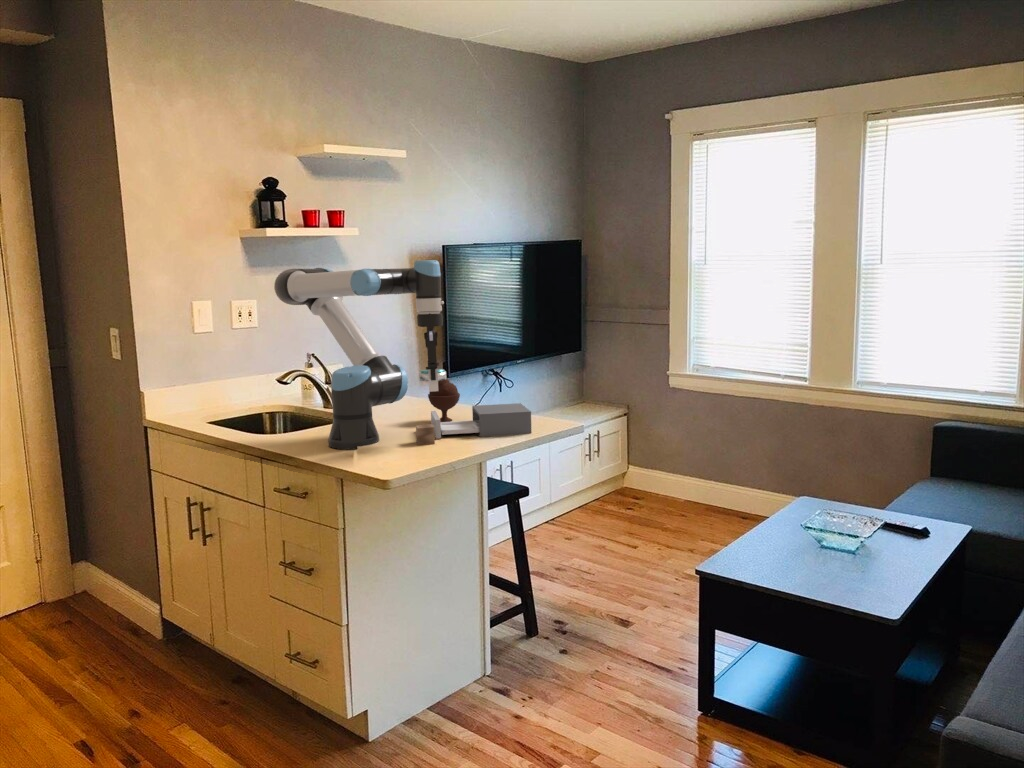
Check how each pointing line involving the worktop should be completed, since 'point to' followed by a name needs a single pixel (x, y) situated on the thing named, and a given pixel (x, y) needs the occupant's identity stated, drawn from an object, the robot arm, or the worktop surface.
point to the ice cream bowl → (444, 398)
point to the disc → (424, 377)
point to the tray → (453, 426)
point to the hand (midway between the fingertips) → (433, 389)
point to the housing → (502, 419)
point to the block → (425, 434)
